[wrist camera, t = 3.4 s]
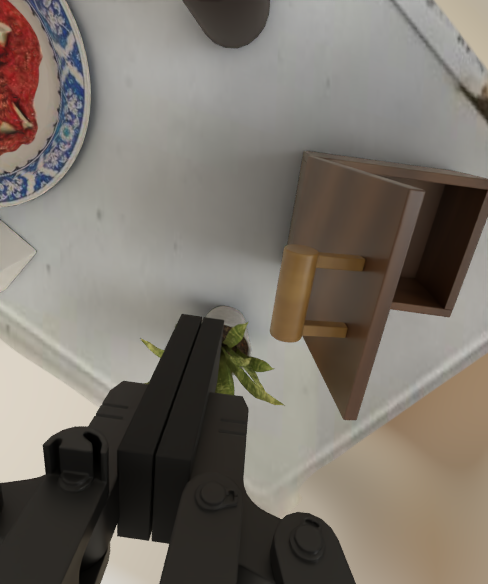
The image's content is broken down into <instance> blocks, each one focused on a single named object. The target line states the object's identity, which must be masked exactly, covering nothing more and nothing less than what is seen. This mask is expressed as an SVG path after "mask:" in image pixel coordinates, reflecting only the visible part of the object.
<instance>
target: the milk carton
mask: <svg viewBox="0 0 488 584" xmlns="http://www.w3.org/2000/svg"><path fill="white" fill-rule="evenodd" d="M35 254H36V250H35V249H34V248H33V247H31V246H30V245H29V244H28V243H27V242H26V241H24V240H23V239H22V238H21V237H20V236H18V235H17V234H16V233H15V232H14V231H13V230H11V229H10V228H9V227H8V226H7V225H6V224H4V223H3V222H2V221H1V220H0V293H1V292H2V291H4V290H5V289H7V287H8V286H9V285H10V284H11V283H12V281H13V280H14V279H15V278H16V276H17V275H18V274H19V273H20V272H21V270H22V269H23V268H24V267H25V266H26V264H27V263H28V262H29V261H30V260H31V258H32V257H33V256H34V255H35Z"/></svg>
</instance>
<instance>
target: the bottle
mask: <svg viewBox="0 0 488 584" xmlns="http://www.w3.org/2000/svg"><path fill="white" fill-rule="evenodd" d="M183 2H184V3H185V5H186V6H187V8H188V9H189V11H190V12H191V14H192V15H193V17H194V18H195V19H196V21H197V22H198V24H199V25H200V27H201V28H202V30H203V31H204V33H205V34H206V35H207V36H208V37H209V38H210V39H211V40H212V41H213V42H214V43H216V44H218V45H221V46H223V47H225V48H239V47H242V46H245V45H248V44H249V43H250V42H252V41H253V40H254V39H256V38H257V37H258V35H259V34H260V33H261V31H262V30H263V28H264V27H265V24H266V21H267V18H268V15H269V7H270V0H183Z"/></svg>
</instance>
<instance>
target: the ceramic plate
mask: <svg viewBox="0 0 488 584" xmlns="http://www.w3.org/2000/svg"><path fill="white" fill-rule="evenodd" d="M90 104H91V83H90V74H89V66H88V61H87V56H86V52H85V48H84V45H83V41H82V37H81V35H80V32H79V29H78V26H77V24H76V21H75V19H74V17H73V14H72V12H71V10H70V8H69V6H68V4H67V2H66V0H0V207H8V206H13V205H18V204H21V203H24V202H27V201H30V200H32V199H34V198H36V197H38V196H40V195H42V194H43V193H45V192H46V191H48V190H49V189H50V188H52V187H53V186H54V185H55V184H56V183H57V182H58V181H59V180H61V179H62V177H63V176H64V175H65V174H66V173H67V171H68V170H69V169H70V167H71V166H72V164H73V163H74V161H75V159H76V157H77V155H78V153H79V151H80V149H81V146H82V144H83V141H84V138H85V135H86V131H87V127H88V122H89V115H90Z"/></svg>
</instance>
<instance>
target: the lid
mask: <svg viewBox="0 0 488 584" xmlns="http://www.w3.org/2000/svg"><path fill="white" fill-rule="evenodd" d="M424 195H425V190H423V189H419V188H416V187H413V186H410V185H406V184H403V183H400V182H397V181H394V180H390V179H387V178H384V177H381V176H377V175H374V174H371V173H368V172H365V171H361V170H358V169H355V168H352V167H348V166H345V165H342V164H339V163H336V162H332V161H329V160H326V159H323V158H319V157H315V156H308V160H307V166H306V171H305V177H304V183H303V188H302V194H301V199H300V205H299V210H298V216H297V222H296V227H295V233H294V238H293V244H291V245H286V246H285V247H284V250H283V256H282V262H281V268H280V274H279V279H278V285H277V291H276V297H275V303H274V309H273V314H272V320H271V326H270V334H271V335H272V336H273V337H274V338H275V339H277V340H280V341H283V342H297V341H299V340H300V339H301V337H302V336H303V338H304V340H305V342H306V344H307V346H308V348H309V350H310V352H311V354H312V356H313V358H314V360H315V363H316V365H317V367H318V369H319V371H320V373H321V375H322V377H323V379H324V381H325V383H326V385H327V387H328V389H329V391H330V393H331V395H332V397H333V399H334V401H335V403H336V405H337V407H338V409H339V411H340V413H341V416H342V418H343V419H344V420H357V417H358V413H359V410H360V407H361V403H362V400H363V397H364V394H365V390H366V387H367V384H368V380H369V377H370V374H371V370H372V367H373V364H374V360H375V357H376V354H377V351H378V347H379V344H380V341H381V337H382V334H383V331H384V327H385V324H386V321H387V317H388V314H389V311H390V308H391V304H392V301H393V298H394V294H395V291H396V288H397V284H398V281H399V278H400V274H401V271H402V268H403V265H404V261H405V258H406V255H407V251H408V248H409V245H410V241H411V238H412V235H413V231H414V228H415V225H416V222H417V218H418V215H419V212H420V208H421V205H422V202H423V198H424Z"/></svg>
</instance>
